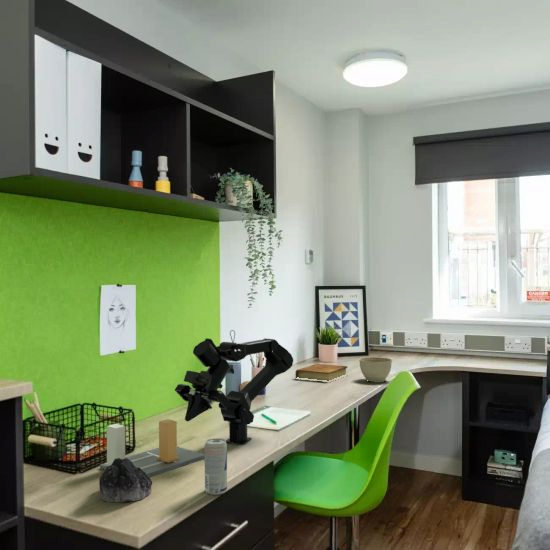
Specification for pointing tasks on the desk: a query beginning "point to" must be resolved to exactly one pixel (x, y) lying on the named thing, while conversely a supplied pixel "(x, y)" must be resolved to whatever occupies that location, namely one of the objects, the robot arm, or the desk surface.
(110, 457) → the cream fader
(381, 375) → the planter bowl
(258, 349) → the robot arm
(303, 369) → the diary
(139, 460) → the grey marked board
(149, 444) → the desk surface
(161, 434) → the block
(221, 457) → the energy drink
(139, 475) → the crystal cluster
